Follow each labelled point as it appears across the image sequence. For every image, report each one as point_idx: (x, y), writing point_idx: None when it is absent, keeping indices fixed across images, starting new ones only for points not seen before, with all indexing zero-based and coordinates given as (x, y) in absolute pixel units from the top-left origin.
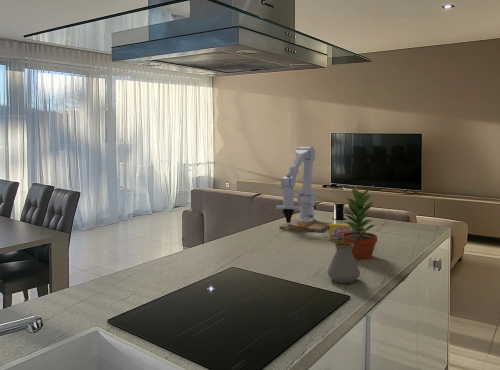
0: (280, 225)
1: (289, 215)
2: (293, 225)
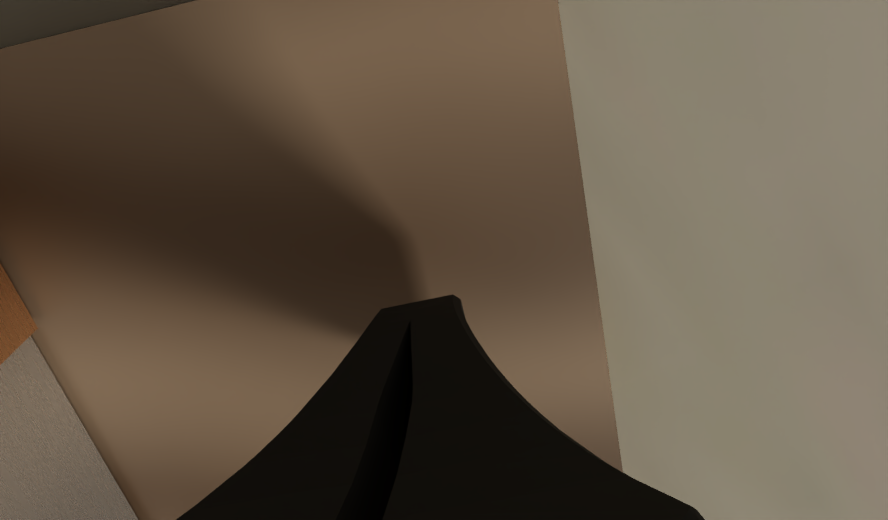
0: (551, 20)
1: (243, 473)
2: (195, 267)
